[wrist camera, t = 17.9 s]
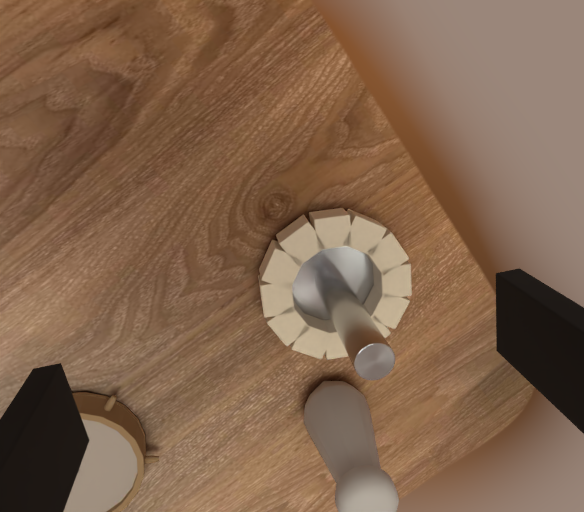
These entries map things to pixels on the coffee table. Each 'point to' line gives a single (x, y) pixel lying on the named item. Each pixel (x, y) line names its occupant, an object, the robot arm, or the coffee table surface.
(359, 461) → the salt shaker
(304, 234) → the ring
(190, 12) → the coffee table surface
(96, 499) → the alarm clock
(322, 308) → the post
